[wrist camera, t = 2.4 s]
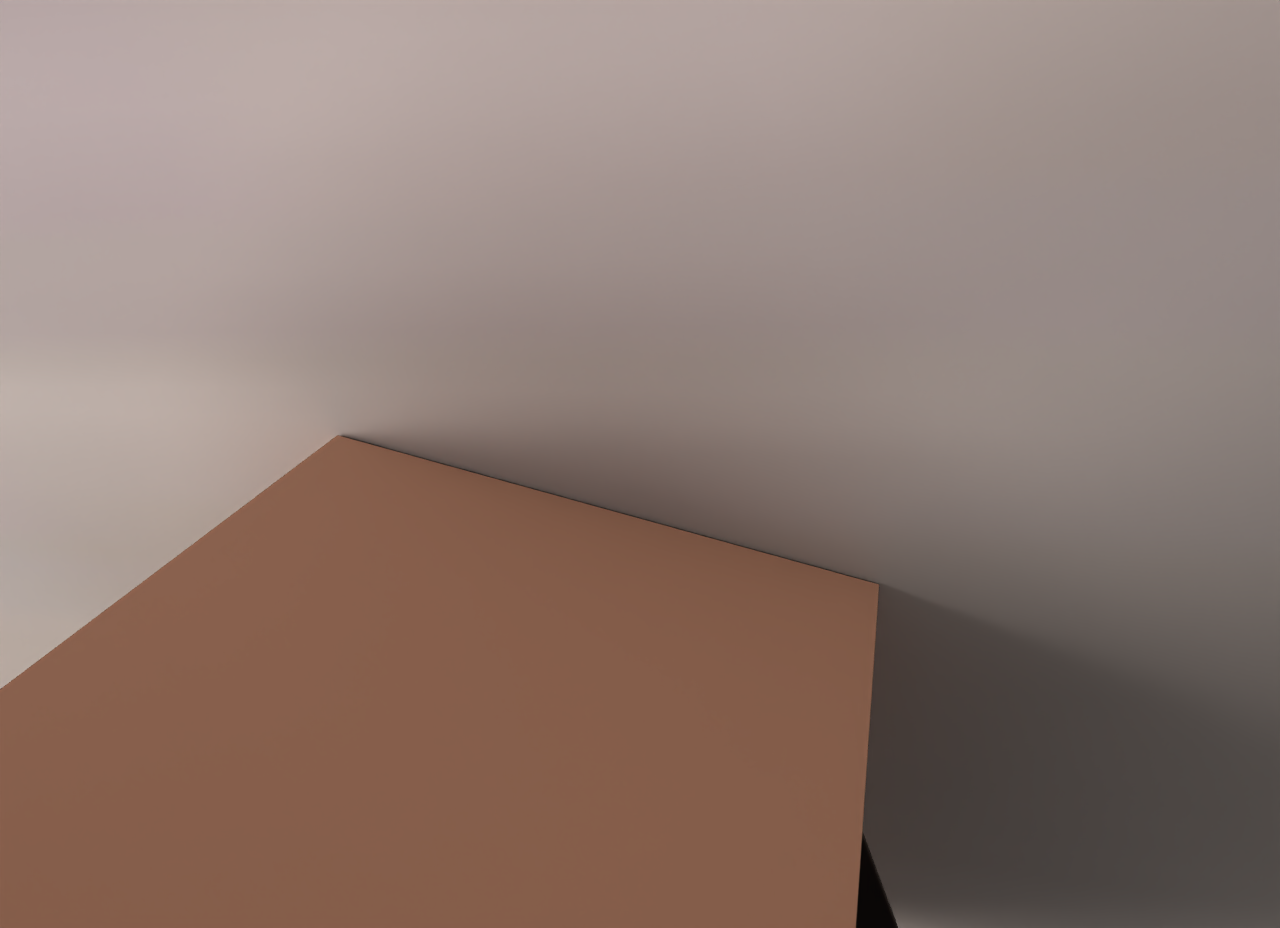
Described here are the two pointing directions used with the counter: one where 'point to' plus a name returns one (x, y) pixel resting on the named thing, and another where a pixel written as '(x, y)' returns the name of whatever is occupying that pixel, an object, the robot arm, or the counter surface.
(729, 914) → the terracotta clay cube
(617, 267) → the counter surface
